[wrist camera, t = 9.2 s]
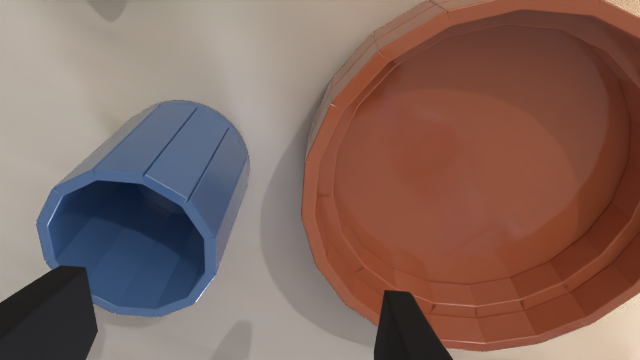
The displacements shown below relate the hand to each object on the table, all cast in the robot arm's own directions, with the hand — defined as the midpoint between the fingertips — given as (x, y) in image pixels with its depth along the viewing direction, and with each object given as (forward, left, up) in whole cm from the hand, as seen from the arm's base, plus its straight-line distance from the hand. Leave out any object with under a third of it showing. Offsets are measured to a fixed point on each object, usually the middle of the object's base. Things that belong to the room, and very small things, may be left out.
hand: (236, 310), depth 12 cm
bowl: (0, -8, -9) cm, 12 cm away
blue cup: (-1, +4, -9) cm, 10 cm away
